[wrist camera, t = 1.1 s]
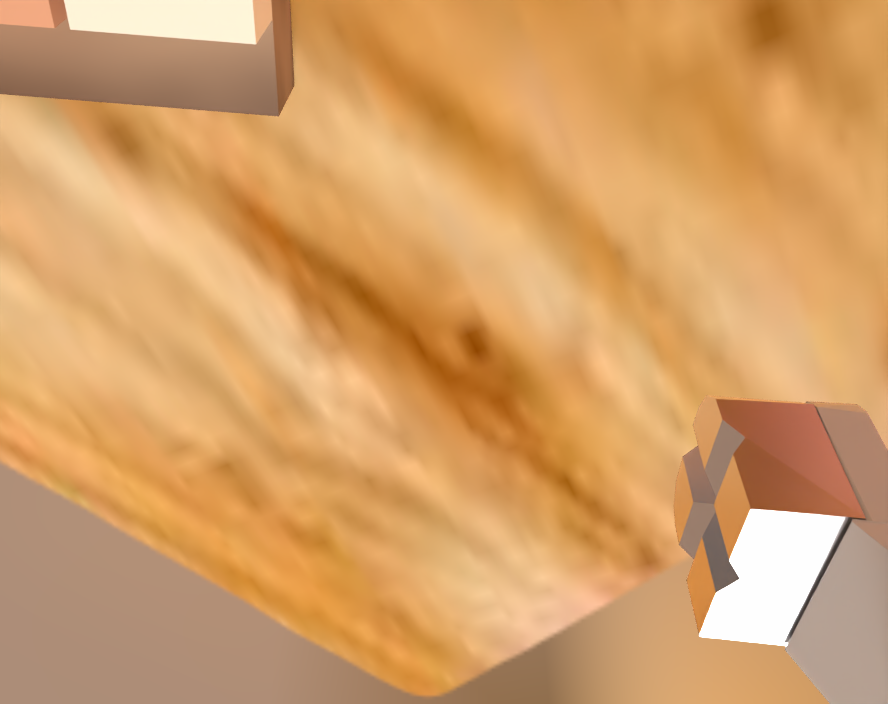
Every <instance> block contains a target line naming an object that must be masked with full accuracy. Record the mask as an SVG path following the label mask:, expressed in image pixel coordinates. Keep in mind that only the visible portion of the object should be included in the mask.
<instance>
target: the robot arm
mask: <svg viewBox="0 0 888 704" xmlns="http://www.w3.org/2000/svg"><path fill="white" fill-rule="evenodd" d="M693 427H694V431H695V435H696V439H697V443H698V446H697V447H695V448H694V449H693V450H691V451H690V452H688V453H687V454H686V455H684V456H683V458H682V461H681V465H680V468H679V472H678V475H677V479H676V487H675V498H674V516H675V527H676V532H677V537H678V542H679V545H680V546H681V547H682V548H683V549H684V550H685V551H686V552H687V553H688V554H689V555H690V556H691V557H692V558H693V559H694V561H693V564H692V567H691V569H690V572H689V575H688V578H687V584H688V589H689V593H690V597H691V602H692V606H693V611H694V615H695V620H696V624H697V629H698V633H699V636H702V637H711V638H720V639H729V640H738V641H749V642H758V643H766V644H775V645H785V646H786V648H785V650H786V652H787V653H788V654H789V655H790V656H791V658H792V659H793V660H794V661H795V662H796V664H797V665H798V666H799V667H800V668H801V670H802V671H803V672H804V673H805V674H806V676H807V677H808V678H809V679H810V680H811V681H812V683H813V684H814V685H815V686H816V687H817V689H818V690H819V691H820V692H821V693H822V695H823V696H824V697H825V698H826V699H827V701H828V702H829V703H830V704H888V450H887V448H886V447H885V445H884V443H883V441H882V439H881V437H880V435H879V433H878V432H877V430H876V428H875V426H874V424H873V422H872V420H871V419H870V417H869V415H868V413H867V412H866V411H865V410H864V409H863V408H861V407H860V406H859V405H857V404H842V403H825V402H805V403H801V402H788V401H775V400H762V399H749V398H735V397H722V396H709V395H706V397H705V398H704V400H703V401H702V403H701V404H700V406H699V408H698V411H697V414H696V417H695V420H694V423H693Z"/></svg>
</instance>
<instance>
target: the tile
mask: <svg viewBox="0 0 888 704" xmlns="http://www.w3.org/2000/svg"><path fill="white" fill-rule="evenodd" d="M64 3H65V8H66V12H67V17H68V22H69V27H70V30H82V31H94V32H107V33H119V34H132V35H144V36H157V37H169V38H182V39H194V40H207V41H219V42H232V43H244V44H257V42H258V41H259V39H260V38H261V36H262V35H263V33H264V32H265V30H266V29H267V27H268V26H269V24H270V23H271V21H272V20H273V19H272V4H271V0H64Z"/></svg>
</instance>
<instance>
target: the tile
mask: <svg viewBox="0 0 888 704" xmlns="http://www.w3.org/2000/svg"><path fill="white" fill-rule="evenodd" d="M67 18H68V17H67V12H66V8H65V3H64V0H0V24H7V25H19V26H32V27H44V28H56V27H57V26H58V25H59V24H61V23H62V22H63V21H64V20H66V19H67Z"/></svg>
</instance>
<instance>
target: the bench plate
mask: <svg viewBox="0 0 888 704" xmlns="http://www.w3.org/2000/svg"><path fill="white" fill-rule="evenodd" d="M271 4H272V19H273V20H272V21H271V23H270V24H269V26H268V27H267V29H266V30H265V32H264V33H263V35H262V36H261V38H260V39H259V41H258V42H257V44H244V43H232V42H219V41H207V40H194V39H182V38H169V37H157V36H144V35H132V34H119V33H107V32H94V31H82V30H70V27H69V22H68V18H67V19H66V20H64V21H63V22H62V23H61V24H59V25H58V26H57V27H56V28H44V27H32V26H19V25H7V24H0V94H7V95H20V96H32V97H45V98H57V99H70V100H82V101H95V102H107V103H120V104H132V105H144V106H157V107H169V108H182V109H194V110H207V111H219V112H232V113H244V114H256V115H269V116H279V115H280V113H281V111H282V109H283V107H284V105H285V103H286V101H287V99H288V97H289V95H290V93H291V91H292V89H293V87H294V70H293V51H292V31H291V12H290V0H271Z"/></svg>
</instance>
